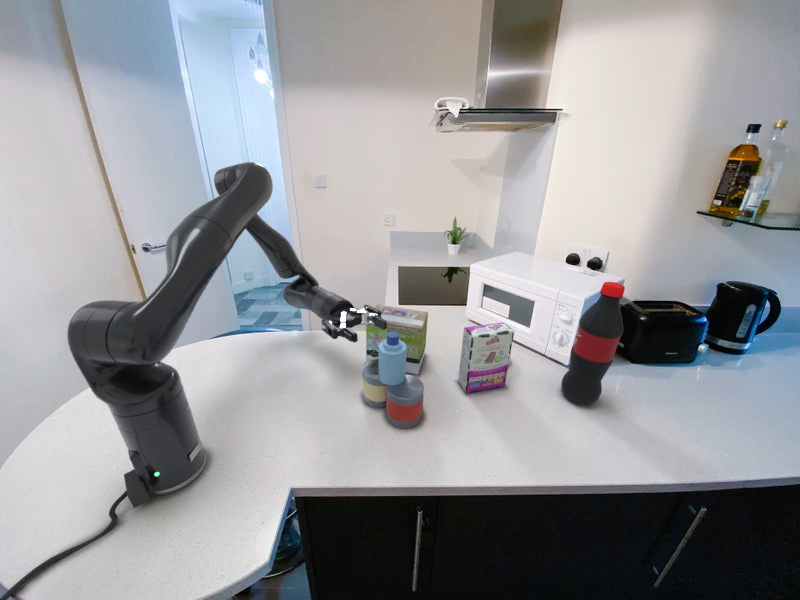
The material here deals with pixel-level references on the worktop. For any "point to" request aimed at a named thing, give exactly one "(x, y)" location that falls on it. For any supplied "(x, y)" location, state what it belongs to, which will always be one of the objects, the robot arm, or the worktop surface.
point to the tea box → (400, 334)
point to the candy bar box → (485, 356)
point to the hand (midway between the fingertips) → (371, 332)
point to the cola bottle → (594, 346)
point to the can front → (405, 402)
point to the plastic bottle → (392, 359)
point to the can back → (373, 385)
